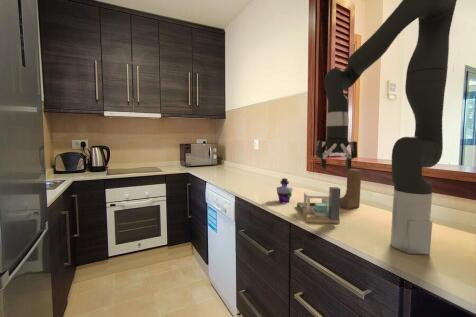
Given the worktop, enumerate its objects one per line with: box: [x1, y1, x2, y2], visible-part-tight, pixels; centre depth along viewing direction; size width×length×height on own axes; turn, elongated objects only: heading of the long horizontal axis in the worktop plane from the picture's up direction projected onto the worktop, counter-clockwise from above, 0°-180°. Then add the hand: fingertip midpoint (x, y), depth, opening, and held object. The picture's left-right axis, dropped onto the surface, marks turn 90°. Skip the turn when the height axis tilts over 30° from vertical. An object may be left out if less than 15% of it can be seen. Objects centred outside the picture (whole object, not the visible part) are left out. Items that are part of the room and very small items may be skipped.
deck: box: [296, 201, 341, 224], centre depth 106 cm, size 22×12×2 cm, turn 177°
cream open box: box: [303, 191, 329, 211], centre depth 107 cm, size 7×9×6 cm
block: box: [314, 202, 328, 212], centre depth 100 cm, size 4×4×4 cm
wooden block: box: [340, 168, 362, 210], centre depth 117 cm, size 9×4×18 cm, turn 118°
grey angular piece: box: [311, 186, 341, 221], centre depth 96 cm, size 11×8×12 cm
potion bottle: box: [276, 178, 293, 204], centre depth 127 cm, size 9×9×12 cm
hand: (335, 169), depth 91 cm, fingers open, 8 cm apart
